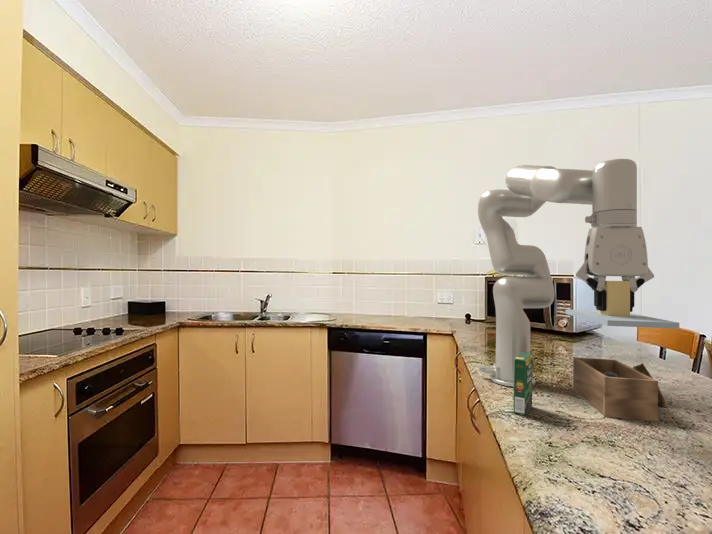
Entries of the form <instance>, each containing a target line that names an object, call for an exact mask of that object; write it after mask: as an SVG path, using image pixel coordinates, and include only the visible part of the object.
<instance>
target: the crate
mask: <svg viewBox="0 0 712 534" xmlns="http://www.w3.org/2000/svg"><path fill="white" fill-rule="evenodd" d="M572 362H573V365H572V389H573V390H574V392H576V393H577V394H578V395H579V396H581V397H582V398H583V400H585V401H586V402H587V403H589V404H590V405H591V406H592V407H593V408H594V409H595V408H596V409H595V410H597V412H599V413H600V414H601V415H602V416H604V418H605V417H607V418H617V419H625V420H626V419H628V420H639V421H649V422H658V421H659V419H658V418H659V416H658V415H659V406H658V386H659V381H658V380H656V379H655V378H654V377H652V378H651V377H649V376H647V375H645V374H643V373H641V372H639V371H637V370H635V369H633V367H630V366H629V365H627V364H625V363H623V362H620V361H618V360H617V359H608V358H592V357H591V358H590V357H575V356H574V357H572ZM607 371H611V372H614V373H617V374H618V376H619V377H620V378H618V377H607V376H605V375H604V374H603V373H605V372H607Z"/></svg>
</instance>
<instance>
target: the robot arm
mask: <svg viewBox="0 0 712 534" xmlns="http://www.w3.org/2000/svg"><path fill="white" fill-rule="evenodd" d="M637 167H638V166H637V164H636V162H635V161H634V160H633V159H628V158H614V159H609V160H605V161H602V162H599V163H598V164H595V166H594V167H593V169H592V170H589V169H573V168H571V169H570V168H556V167H554V166H551V165H534V164H533V165H531V164H530V165H529V164H522V165H521V164H520V165H517V166H514V167H513V168H512V169H510V170H509V171H508V172H507V174H506V176H505V185H506V187H507V189H501V188H500V189H499V188H497V189H490V190H488V191H487V190H486V191H485V192H484V193H482V194H481V195H480V198H479V201H478V205H477V216H478V220H479V223H480V226H481V227H482V230H483V231H484V232H483V233H484V234H485V237H486V241H487V242H486V243H487V246H488V251H489V256H490V260H491V264H492V268H493V270H494V271H495V273H497V274H499V275H504V277H501V278H499V279H497V280H496V281H495V283H494V284H493V287H492V294H493V295H492V296H493V301H494V307H495V362H493V365H490V366H488V365H479V372H480V373H484V374H487V375H488V374H490V376H489V377H490V378H489V379H490V381H491V382H493V383H495V384H498V385H501V386H505V387H510V386H511V388H514V359H515V358H516V357H517V356H518V355H519V354H520V353H521V352H524V353H530V354H531V321H530V319H529V318H528V316H527V314H526V312H525V311H524V309H545V308H549V307H550V306H551V305H553V302H554V300H555V294H556V293H555V286H554V282H553V279H552V276H551V271H550V268H549V264H548V260H547V258H546V255H545V253H544V252H543V250H542V249H541V248H540V247H538V246H537V245H536V246H535V245H532V244H531V245H529V244H527V245H526V244H521V243H520V244H519V243H518V241H517V239H516V234H515V231H514V229H513V228H512V226H511V224H509V223H508V222H507V221H506V220H505V219H504V218H503V217H508V218H511V217H512V218H527V217H528V218H529V217H531V216H533V215H534V214H535V213H536V212H537V211H538V210H539V209H540V208H542V207H543V206H544V204H545V203H547V202H548V203H557V204H572V205H573V204H575V205H592V206H591V207H592V210H591V212H592V213H591V215H589V216H585V218H584V221H585V223H586V224H588V223H589V224H590V225H591V228H589V229H588V233H587V237H586V242H585V248H584V256H583V264H582V265H581V267H580V268H579V269H578V270H577V272H576V273H575V277H576V278H578V279H579V280H581V281H583V282H585V284H586V285H588V286H589V287H590V289H591V290H592V291H593V305H594V307H595V310H600V311H605V310H606V291H604V284H605V281H607V277H621V281H630V313H632V312H633V308H634V307H635V293H636V292H637V291H638V289H639V288H641V286H643V285H644V284H645V283H647V282H648V281H650V280H652V279H654V278H655V275H654V273H653V272H652V270H651V268H650V267H649V260H648V250H647V241H646V238H645V234H644V230H643V227H642V226H638V210H637V209H638V204H637V203H638V197H637V196H638V194H637V192H638V181H637V179H638V168H637ZM505 275H506V276H505ZM507 275H508V276H507ZM591 276H593V277H591ZM636 277H637V278H636ZM536 382H537V381H536V380H535V378H533V377H532V387H534V386H535V385H536Z"/></svg>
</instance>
